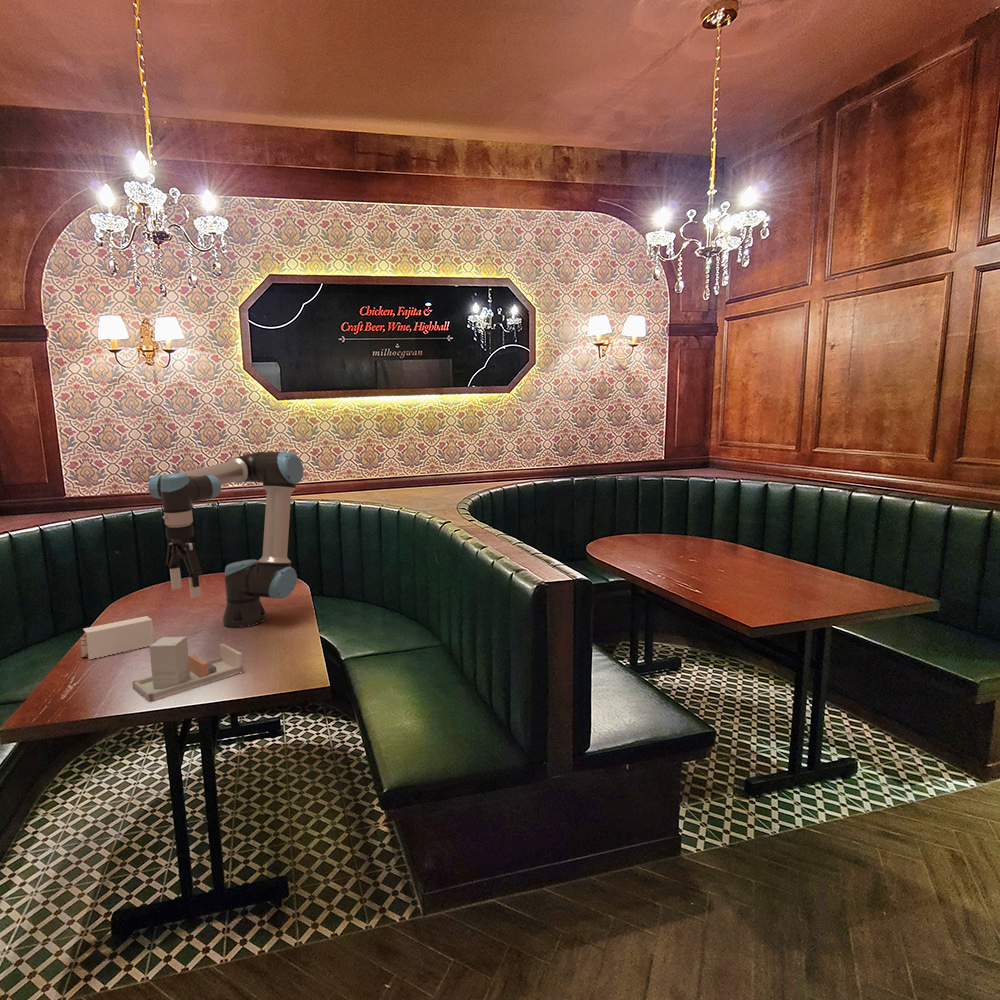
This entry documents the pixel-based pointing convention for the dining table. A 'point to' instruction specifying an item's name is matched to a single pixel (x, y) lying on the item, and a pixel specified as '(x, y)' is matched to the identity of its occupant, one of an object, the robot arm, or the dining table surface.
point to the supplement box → (169, 662)
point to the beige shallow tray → (224, 665)
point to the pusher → (200, 666)
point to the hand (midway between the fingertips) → (186, 592)
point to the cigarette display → (117, 637)
